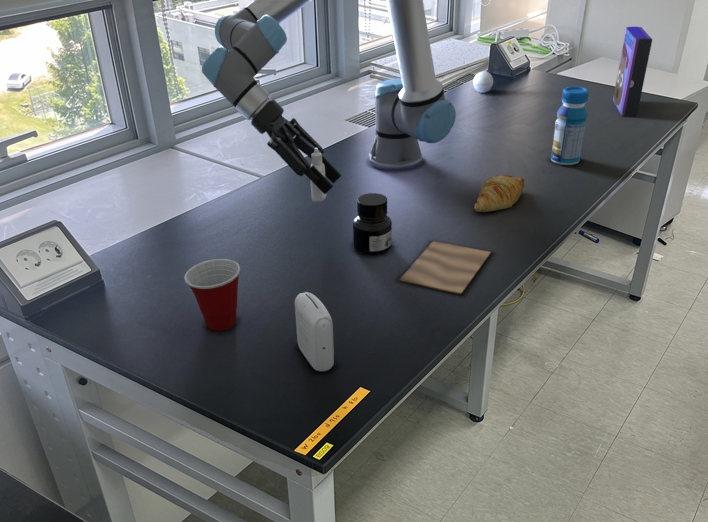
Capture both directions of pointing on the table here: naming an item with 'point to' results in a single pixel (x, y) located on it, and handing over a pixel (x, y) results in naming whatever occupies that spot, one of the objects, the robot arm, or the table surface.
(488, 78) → the white ovoid
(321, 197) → the eye dropper bottle
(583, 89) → the beverage bottle
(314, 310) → the photo printer
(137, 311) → the table surface
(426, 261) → the wooden board
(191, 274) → the plastic cup
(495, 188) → the croissant
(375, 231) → the ink bottle
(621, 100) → the cereal box
